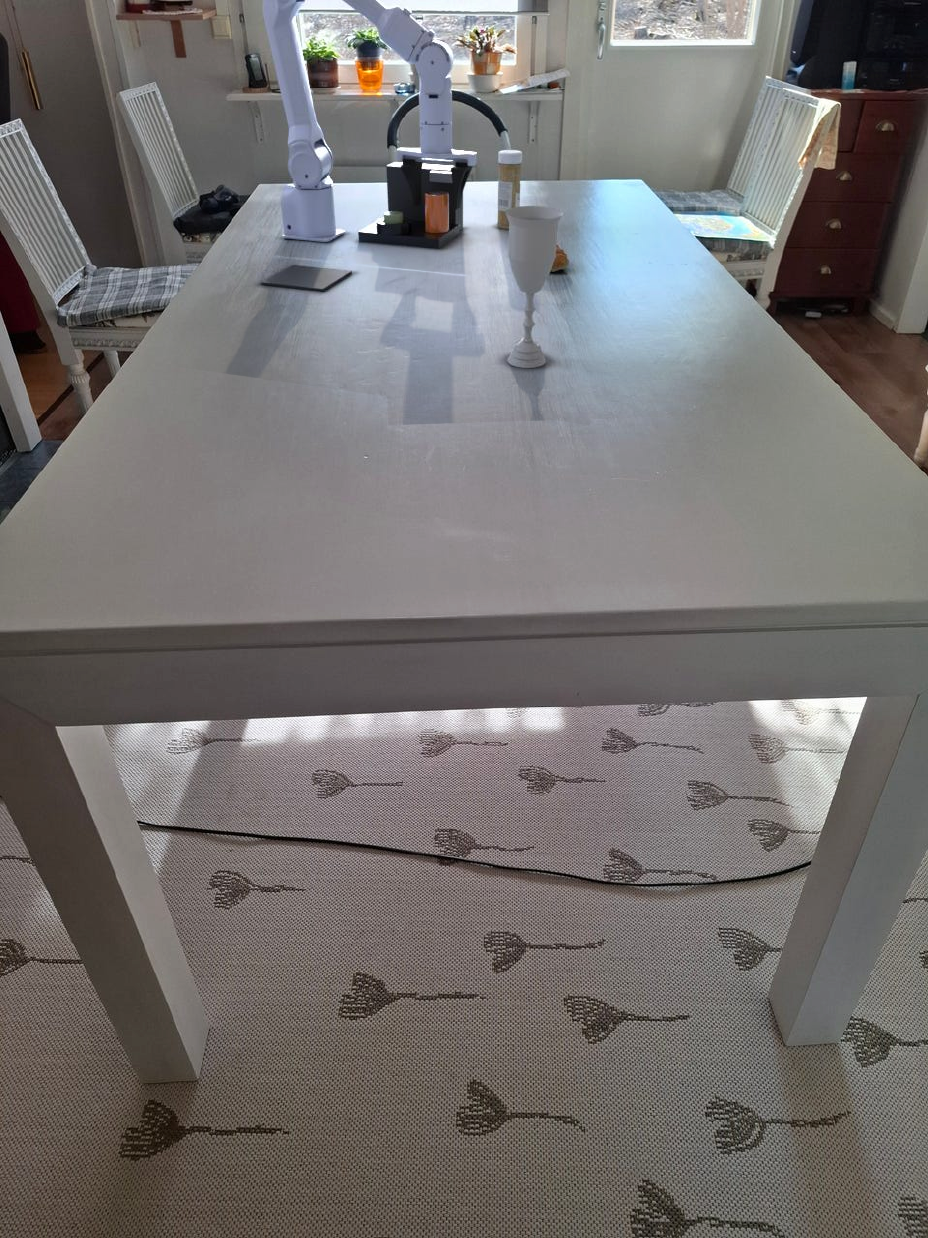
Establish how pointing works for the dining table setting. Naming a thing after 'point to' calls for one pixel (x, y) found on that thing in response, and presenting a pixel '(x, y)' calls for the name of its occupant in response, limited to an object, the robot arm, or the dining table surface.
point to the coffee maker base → (407, 234)
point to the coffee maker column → (430, 181)
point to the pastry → (560, 260)
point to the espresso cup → (437, 211)
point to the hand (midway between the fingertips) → (437, 206)
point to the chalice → (531, 269)
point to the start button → (393, 217)
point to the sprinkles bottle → (508, 184)
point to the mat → (307, 278)
